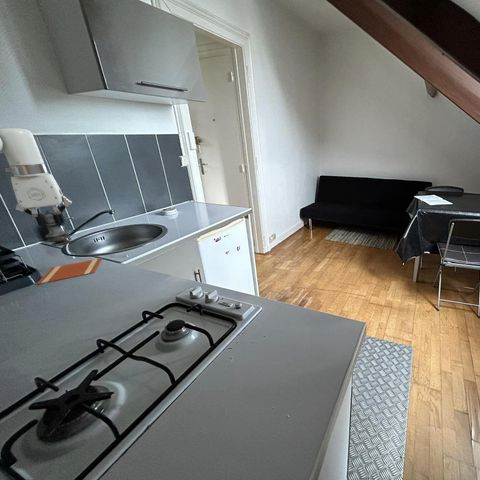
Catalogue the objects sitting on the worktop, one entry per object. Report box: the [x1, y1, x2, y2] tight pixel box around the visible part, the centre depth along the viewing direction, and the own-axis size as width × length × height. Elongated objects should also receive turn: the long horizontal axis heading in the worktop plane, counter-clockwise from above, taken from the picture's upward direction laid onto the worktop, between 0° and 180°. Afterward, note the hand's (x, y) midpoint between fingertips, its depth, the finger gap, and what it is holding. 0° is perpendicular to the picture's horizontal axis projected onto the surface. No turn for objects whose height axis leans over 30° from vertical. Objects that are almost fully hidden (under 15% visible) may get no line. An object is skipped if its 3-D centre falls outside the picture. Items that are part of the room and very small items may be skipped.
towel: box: [36, 258, 103, 286], centre depth 95 cm, size 15×14×1 cm
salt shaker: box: [42, 210, 72, 248], centre depth 89 cm, size 6×6×12 cm
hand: (53, 225), depth 89 cm, fingers closed on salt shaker, 3 cm apart
